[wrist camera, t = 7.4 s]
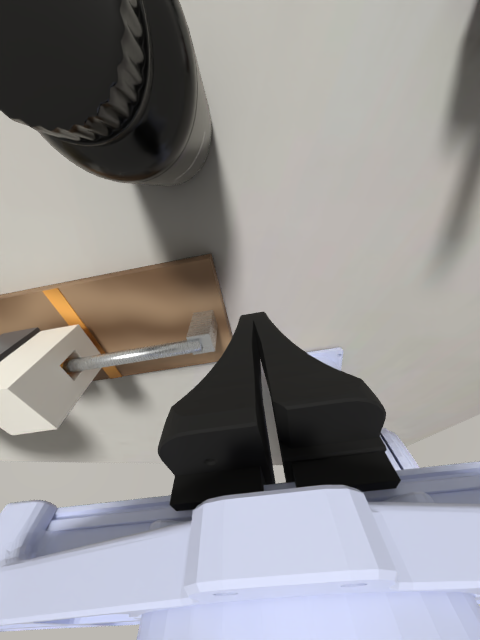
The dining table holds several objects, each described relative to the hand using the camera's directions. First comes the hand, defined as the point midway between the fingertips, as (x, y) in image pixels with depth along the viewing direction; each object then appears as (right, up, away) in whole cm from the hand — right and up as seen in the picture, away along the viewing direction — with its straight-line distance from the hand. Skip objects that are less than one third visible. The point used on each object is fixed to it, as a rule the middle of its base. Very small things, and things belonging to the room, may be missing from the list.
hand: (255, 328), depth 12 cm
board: (-14, 0, +12) cm, 18 cm away
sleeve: (-18, -2, +10) cm, 20 cm away
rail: (-13, -1, +10) cm, 17 cm away
